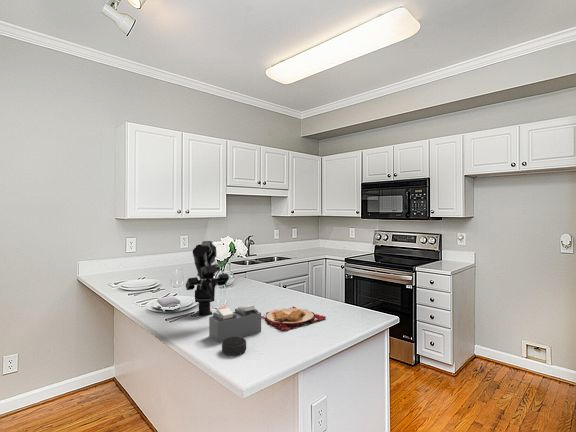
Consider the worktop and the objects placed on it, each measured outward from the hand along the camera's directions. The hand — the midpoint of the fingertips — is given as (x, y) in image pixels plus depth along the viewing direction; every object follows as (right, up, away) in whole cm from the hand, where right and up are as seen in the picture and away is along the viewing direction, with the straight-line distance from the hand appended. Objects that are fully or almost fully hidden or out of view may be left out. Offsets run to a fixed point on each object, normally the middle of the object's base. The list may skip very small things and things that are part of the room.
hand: (213, 297), depth 151 cm
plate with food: (+33, -14, +15) cm, 39 cm away
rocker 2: (+15, -4, -3) cm, 15 cm away
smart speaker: (+12, -15, -23) cm, 30 cm away
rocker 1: (+7, -4, -9) cm, 12 cm away
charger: (-28, -13, +28) cm, 42 cm away
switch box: (+11, -14, -6) cm, 18 cm away
